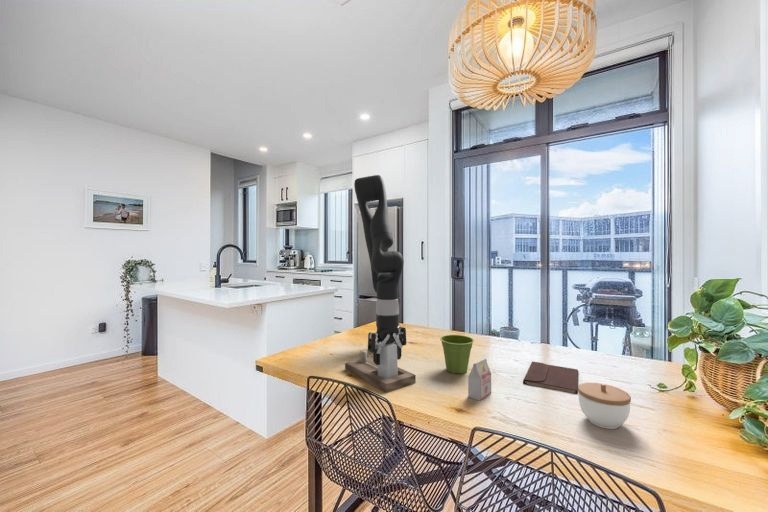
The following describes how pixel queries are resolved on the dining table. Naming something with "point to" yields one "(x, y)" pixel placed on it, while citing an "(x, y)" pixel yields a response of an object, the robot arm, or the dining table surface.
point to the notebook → (552, 377)
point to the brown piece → (370, 373)
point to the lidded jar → (604, 404)
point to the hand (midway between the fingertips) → (387, 361)
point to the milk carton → (479, 380)
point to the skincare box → (388, 361)
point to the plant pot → (456, 352)
